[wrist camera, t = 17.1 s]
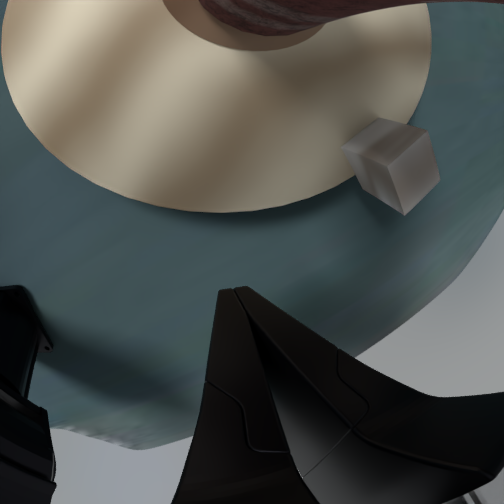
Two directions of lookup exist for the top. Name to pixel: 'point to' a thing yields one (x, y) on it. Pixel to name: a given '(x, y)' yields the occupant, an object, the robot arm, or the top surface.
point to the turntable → (222, 102)
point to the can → (297, 12)
